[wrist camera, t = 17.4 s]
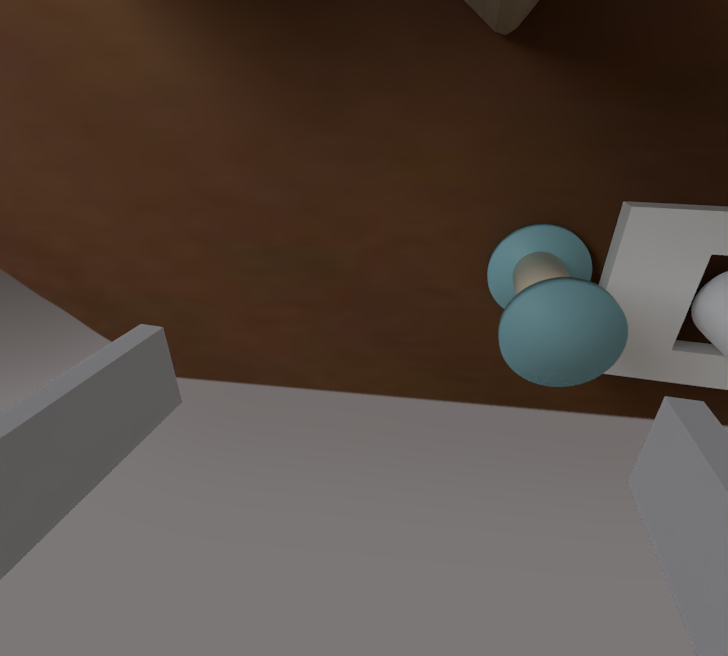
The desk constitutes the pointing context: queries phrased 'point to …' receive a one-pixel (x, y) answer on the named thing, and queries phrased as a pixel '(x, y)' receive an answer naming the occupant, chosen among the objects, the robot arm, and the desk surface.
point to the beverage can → (713, 312)
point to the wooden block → (502, 13)
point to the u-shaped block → (664, 289)
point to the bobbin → (553, 308)
